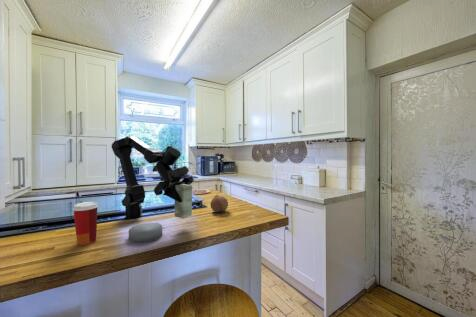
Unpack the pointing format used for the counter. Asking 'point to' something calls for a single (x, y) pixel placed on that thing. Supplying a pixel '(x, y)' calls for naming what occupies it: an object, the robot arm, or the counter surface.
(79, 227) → the paper cup
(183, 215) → the sage block
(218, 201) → the onion
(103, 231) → the counter surface
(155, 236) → the slate plinth
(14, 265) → the counter surface
